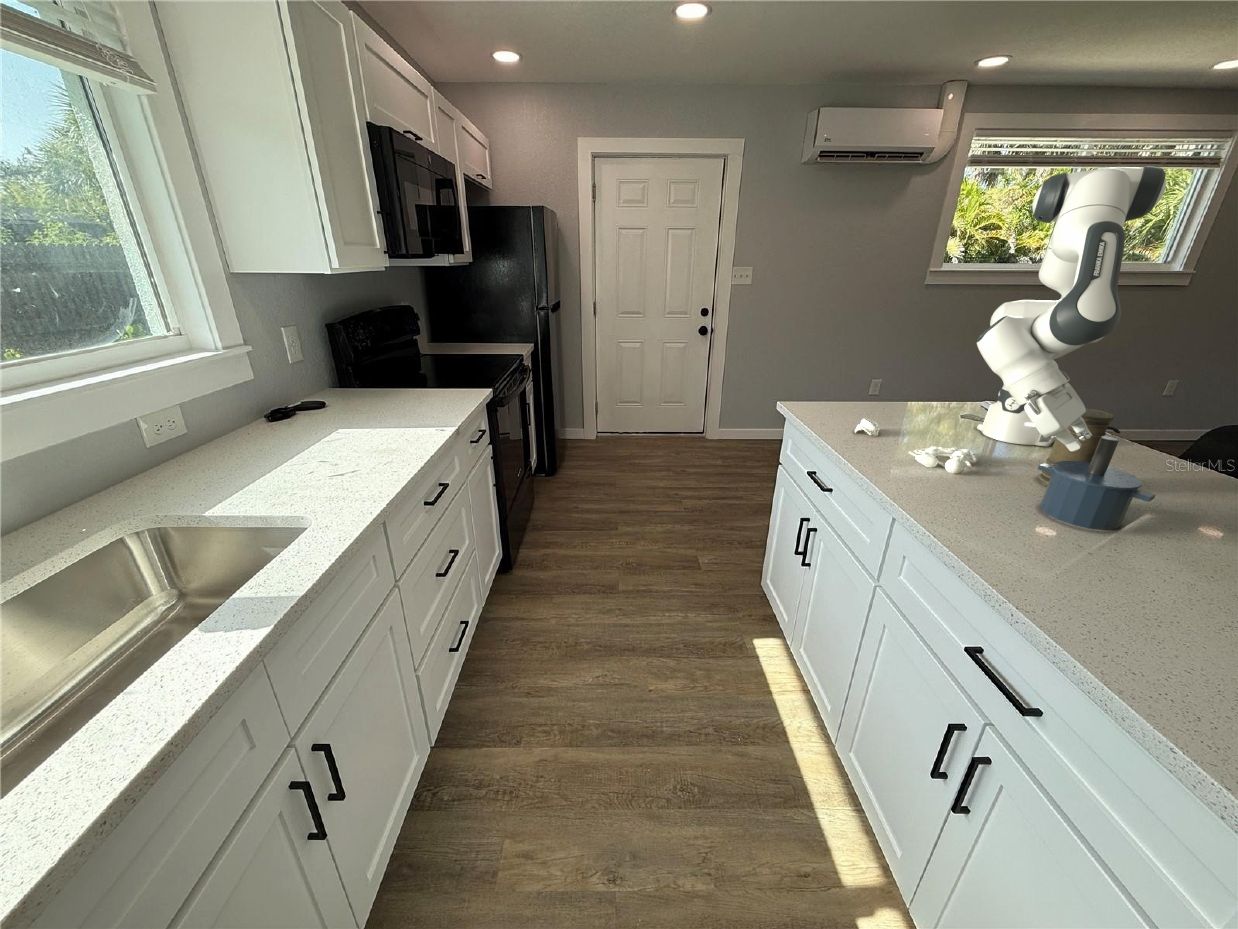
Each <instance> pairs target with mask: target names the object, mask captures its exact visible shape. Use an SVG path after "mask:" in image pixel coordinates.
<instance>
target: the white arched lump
mask: <svg viewBox="0 0 1238 929" xmlns="http://www.w3.org/2000/svg"><path fill="white" fill-rule="evenodd" d="M860 431H864V432H865V433H866V434H868V435H869V436H872V435H873V436H878V435H879V431H880V427H879V424H878V423H877V422H876V421H875V420H872V419H870V418H868V417H867V418H866V417H865V418H862V419H861V421H860V423H859V424H857V425H856V428H855V429H854V434H856V433H858V432H860Z"/></svg>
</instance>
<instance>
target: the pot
mask: <svg viewBox="0 0 1238 929" xmlns="http://www.w3.org/2000/svg"><path fill="white" fill-rule="evenodd" d="M1037 470H1039V471H1041V470H1042V471H1046V472H1049V473H1052V475H1051V478H1050V480H1049V483H1048V484H1047V486H1046V489H1045V492H1044V494H1043V497H1042V498H1041V502H1040V509H1041V510H1042V511H1043V512H1044V513H1045V514H1046V515H1048V516H1050V517H1052V518H1054V519H1056V520H1058V521H1061V522H1064V523H1066V524H1069V525H1072V526H1076V527H1080V528H1085V529H1090V530H1098V531H1099V530H1100V531H1111V530H1112V531H1113V530H1116V529H1118V528H1120V527H1121V526H1122V523H1123V520H1124V518H1125V516H1126V514H1127V512H1128V509H1129V508H1130V505H1131V503H1132V501H1133V498H1134V499H1137V500H1140V501H1144V502H1147V503H1150V502H1152V501H1153V500H1154V499H1155V497H1156V493H1152V492H1148V491H1144V490H1141V489H1139V488H1138V489H1135V490H1115V489H1107V488H1101V487H1095V486H1091V485H1087V484H1083V483H1080V482H1076V481H1073V480H1071V479H1068V478H1065V477H1063V476H1061V475H1059V474H1058V473H1056V472H1055V471H1054V470H1053V469H1052V465H1050V464H1046V462H1043V463H1041V464H1038V466H1037Z"/></svg>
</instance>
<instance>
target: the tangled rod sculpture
mask: <svg viewBox="0 0 1238 929" xmlns="http://www.w3.org/2000/svg"><path fill="white" fill-rule="evenodd" d="M908 454H909V455H911V456H914V457H915V460H916V461H917V462H918V463H920V464H922V465H923V466H924V467H926V468H935V467H936V466H938V464H939V465H941V466H942V467H944V468H945V470H946V471H947V472H948V473H950V474H953V475H955V474H959V473H961V472H962V471H963V469H964V468H966V469H969V470H973V466H972V464H975V463H976V462H977V457H976V453H974V452H972V451H971V450H970V449H968V448H961V449H960V448H959V449H957V448H956V447H950V448H945V447H942V446H939V447H937V446H935V445H931V446H930V447H926V448H916V449H915V450H910V451H908ZM937 456H938V457H939V456H941V457H949V459H947V461H946V462H945V464H944V462H942V461H940V460H939V459H938V458H937Z"/></svg>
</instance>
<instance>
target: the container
mask: <svg viewBox="0 0 1238 929" xmlns="http://www.w3.org/2000/svg"><path fill="white" fill-rule="evenodd" d="M1085 409H1086V412H1085V413H1084V414H1083V415H1082V416H1081V417H1082V418H1083V420H1084V421H1085V423H1086V426H1087V428H1088V430H1089V431H1090V432H1091V434H1092V436H1091V437H1090V438H1089V439H1086V440H1084V441H1082V440H1080V439H1079V437H1078V436H1077V435H1076V434H1077V433H1076V432H1075V430H1074V429H1073V427H1072V426H1069V427H1068V429H1069V431H1070V433H1071V434H1072V436H1073V437H1074V438H1075V439H1078V441H1079V442H1080V443H1081V445H1082V446H1081V448H1080V449H1078V450H1075V451H1069V449H1068V448H1067V447H1066V446H1065V445H1064V444H1063V443H1062V442H1060V441H1059V440H1058V439H1057V438H1056V439H1055V441H1054V442H1053V445H1052V447H1051V450H1050V453H1049V455H1048V458H1047V459H1046V462H1045V463H1046V464H1050V465H1053V464H1054V463H1055V462H1059V461H1081V462H1089V463H1091V461H1092V458H1093V456H1094V453H1095V451H1096V448H1097V446H1098V443H1099V441H1100V438H1101V437H1102V436H1107V430H1108V429H1107V427H1108V426H1111V423H1110V422H1112V421H1114V418H1115V417H1114V414H1112V413H1111V412H1107V411H1103V410H1100V409H1094V408H1087V407H1085ZM1040 472H1041V473H1040V474H1039V475H1038V477H1037V479H1038V480H1039V481H1040V482H1042V483H1043V484H1045V485H1048V483H1049V480H1050V478H1051V475H1052V473H1049V472H1046V471H1042V470H1040Z"/></svg>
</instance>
